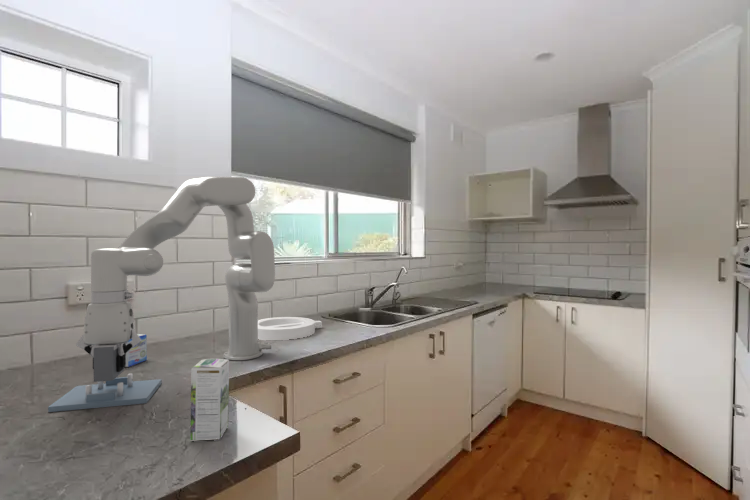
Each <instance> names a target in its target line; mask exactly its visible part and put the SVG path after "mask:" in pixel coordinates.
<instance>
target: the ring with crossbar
mask: <svg viewBox="0 0 750 500" xmlns="http://www.w3.org/2000/svg"><path fill="white" fill-rule="evenodd" d="M319 328H323V321H321V320H314V319H311V318H307V317H300V316H278V317H277V316H276V317H267V318H262V319H258V339H259V341H266V340H283V341H290V340H289V339H294V340H298V339H297V338H300V339H304V338H303V337H305V338H308V337H311V336H313V335H315V333H316V329H319ZM312 334H313V335H312ZM310 335H311V336H310ZM307 336H308V337H307Z"/></svg>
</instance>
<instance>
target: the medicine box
mask: <svg viewBox="0 0 750 500" xmlns="http://www.w3.org/2000/svg"><path fill="white" fill-rule="evenodd" d="M137 335H138V336H139V337H140V339H141V342H139V343H138V344H136V345H135V346H133V347H132V348H131V349H130V350H129V351H128V352H127V353H126V365H125V367H124V368H130V367H133V366H135V365H137V364H140V363H143V362H146V361H147V360H148V359H147V358H148V357H147V356H148V353H147V351H148V349H147V343H148V342H147V341H148V340H147V339H148V338H147V334H146V333H144V334H143V333H137ZM131 342H132V339H130V340H129V341H128V342H126V345H128V344H129V343H131Z"/></svg>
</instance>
